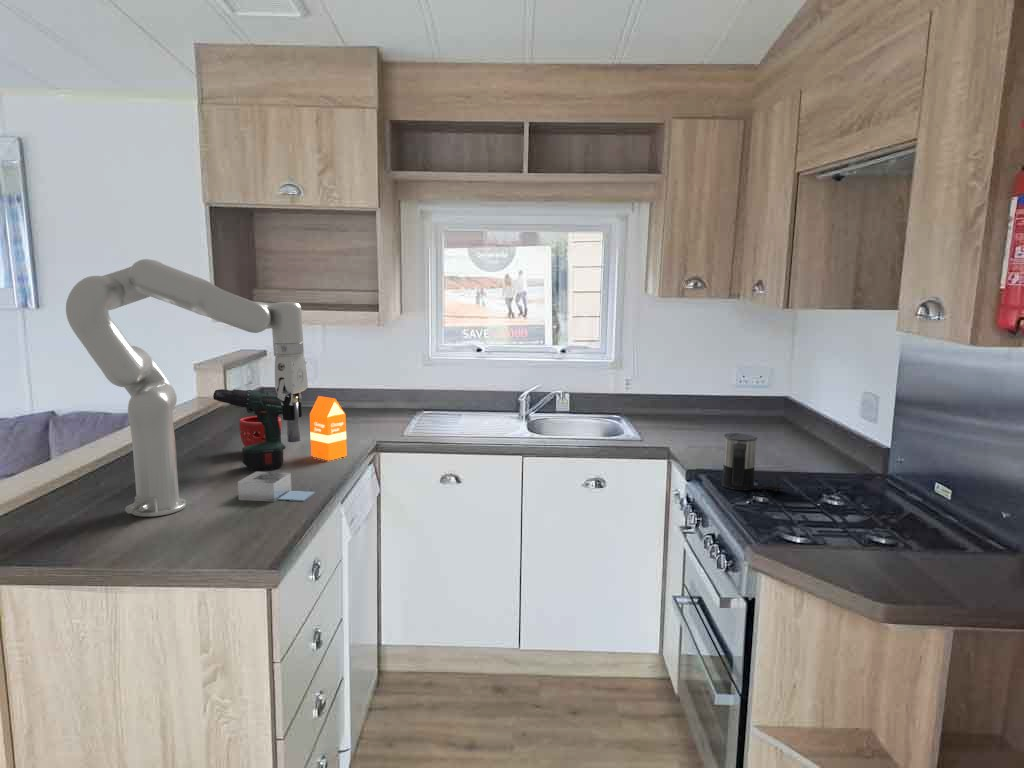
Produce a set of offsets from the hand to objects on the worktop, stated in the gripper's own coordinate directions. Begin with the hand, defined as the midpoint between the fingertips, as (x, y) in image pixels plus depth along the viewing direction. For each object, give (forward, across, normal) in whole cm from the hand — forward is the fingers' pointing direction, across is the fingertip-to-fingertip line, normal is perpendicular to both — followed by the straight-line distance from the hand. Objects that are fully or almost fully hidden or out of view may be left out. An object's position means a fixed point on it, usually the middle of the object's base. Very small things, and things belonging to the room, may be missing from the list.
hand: (292, 417), depth 182 cm
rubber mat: (+22, 0, 0) cm, 22 cm away
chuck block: (+22, 0, +9) cm, 23 cm away
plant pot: (+22, +42, +32) cm, 57 cm away
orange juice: (+22, +41, +8) cm, 47 cm away
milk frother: (+24, +26, -124) cm, 129 cm away
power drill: (+22, +25, +24) cm, 41 cm away
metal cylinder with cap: (+6, 0, 0) cm, 6 cm away
